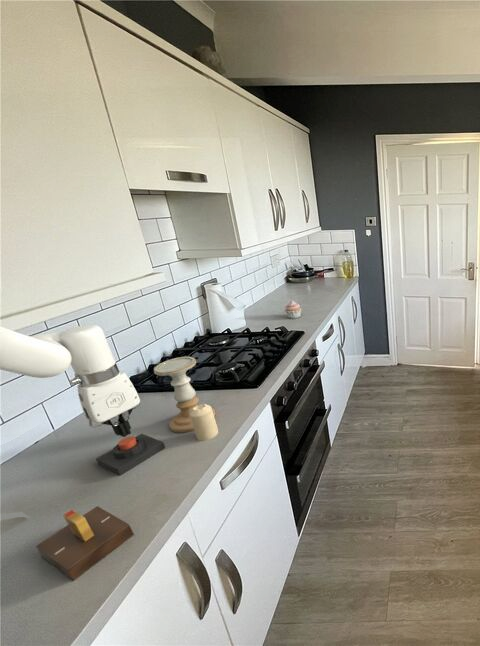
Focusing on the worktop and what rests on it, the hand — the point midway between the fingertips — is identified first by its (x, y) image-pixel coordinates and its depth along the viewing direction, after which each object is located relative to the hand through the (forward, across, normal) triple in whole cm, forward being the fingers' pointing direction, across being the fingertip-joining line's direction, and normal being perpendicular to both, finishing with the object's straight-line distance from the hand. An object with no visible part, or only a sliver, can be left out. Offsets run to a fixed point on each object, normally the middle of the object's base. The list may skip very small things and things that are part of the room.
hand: (124, 434), depth 93 cm
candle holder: (+8, +17, 0) cm, 18 cm away
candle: (+8, +14, -11) cm, 19 cm away
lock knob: (+4, -19, -21) cm, 29 cm away
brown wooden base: (+7, -19, -21) cm, 29 cm away
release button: (+4, 0, 0) cm, 4 cm away
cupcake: (+8, +104, +41) cm, 112 cm away
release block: (+8, 0, 0) cm, 8 cm away
